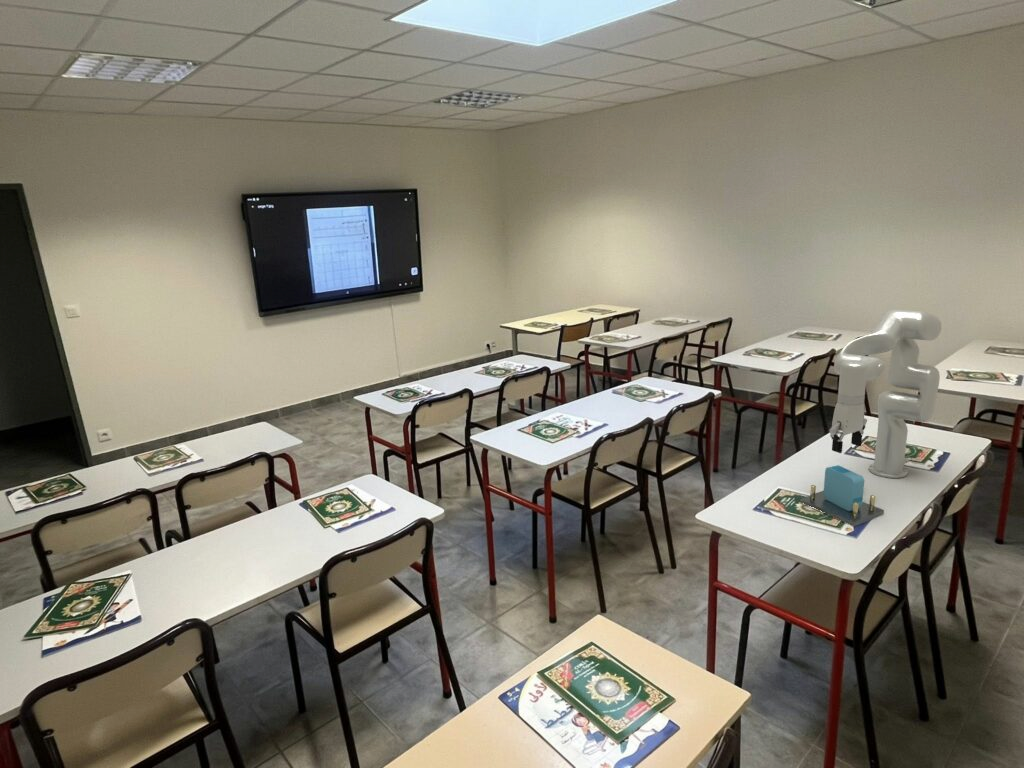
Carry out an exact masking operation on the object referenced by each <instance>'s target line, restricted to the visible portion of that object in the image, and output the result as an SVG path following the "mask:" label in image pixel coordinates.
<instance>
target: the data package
mask: <svg viewBox="0 0 1024 768" xmlns="http://www.w3.org/2000/svg"><path fill="white" fill-rule="evenodd" d="M864 489H865V478H864V477H863V475H860V474H859V473H856V472H855V471H852V470H850V469H847V468H845V467H843V466H841V465H833V466H829V467H826V468H825V471H824V483H823V490H824V492H823V495H824V498H825V499H826V500H828V501H830V502H831V503H833V504H835V505H837V506H839V507H841V508H843V509H845V510H847V511H853V502H858V503H859V506H858V509H860V508H861V507H862V502H863V497H864Z"/></svg>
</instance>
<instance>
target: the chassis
mask: <svg viewBox="0 0 1024 768" xmlns="http://www.w3.org/2000/svg"><path fill="white" fill-rule="evenodd" d="M816 489H817V486H816V485H815V484H811V485H810V493H809V494H810V495H808V496H804V497H802V498H800V499H799V503H800V502H802V503H804V504H806V505H809V506H811V507H814V508H816V509H818V510H821V511H822V512H825V513H827V514H829V515H831V516H833V517H835V518H834V519H836V518H837V519H836V520H838V519H839V520H838V521H840V520H841V521H840V522H842V521H843V523H845V522H846V523H845V524H847V523H848V524H847V525H849V524H850V526H851V527H854V526H855V527H857V526H859V525H861V524H864V523H866V522H869V521H871V520H873V519H876V518H879V517H881V516H882V515H884V514H885V510H884V509H882V508H881V507H878V506H875V505H876V496H875V495H873V494H872V495H871V494H870V495H869V501H868V502H869V503H867V502H865V501H862V507H861V508H860V509H858V506H859V503H858V502H853V511H847V510H845V509H843V508H841V507H839V506H837V505H835V504H833V503H831V502H830V501H828V500H826V499H825V498H824V495H823V492H824V489H822V490H821V491H819V492H816ZM806 505H805V506H806ZM822 512H821V513H822ZM829 515H828V516H829ZM831 516H830V517H831ZM833 517H832V518H833Z"/></svg>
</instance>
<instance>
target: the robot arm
mask: <svg viewBox="0 0 1024 768" xmlns="http://www.w3.org/2000/svg"><path fill="white" fill-rule="evenodd" d="M941 331H942V322H941V319H939V317H938V316H936V315H933V314H931V313H929V312H926V311H923V310H911V309H890V310H887V311H886V312H884V313H883V314H881V317H880V318H879V320H878V321H877V323H876V324H875V325H874V327H873V328H872V330H871V331H870V333H868V334H866V335H865V334H864V335H862V336H860V337H858V338H855V339H853V340H852V341H849V342H848V343H846V344H845V345H844V346H843V348H842V349H841V350H840V351H839V353H838V354H837V356H836V358H835V360H834V364H833V369H834V372H835V373H836V374H837V375H839V380H838V392H837V403H836V404H835V408H834V409H833V411H834V412H833V417H832V422H831V428H830V429H829V435H830V438H831V440H832V445H831V451H832V452H835V453H838V454H841V453H843V444H844V443H843V442H844V441H843V439H844V437H845V436H847V435H850V434H851V441H850V444H852V445H853V446H857V447H861V446H862V442H863V441H862V440H863V435H864V430H865V429H866V424H867V422H868V419H867V418H865V398H866V396H865V395H866V388H867V387H866V386H867V382H871V381H875V380H878V379H879V378H881V377H882V375H884V373H885V367H886V366H885V363H884V360H882V359H881V358H879V357H875V356H874V355H879V354H884V353H887V352H890V351H891V352H890V357H889V365H888V370H887V375H886V381H887V383H888V385H890V386H891V387H894V388H899V389H905V390H909V391H916V392H917V391H918V392H919V394H917V393H916V394H915V393H910V392H904V391H897V390H886V391H883V392H881V393H880V394H879V396H878V398H877V413H878V414H877V415H878V420H877V433H876V439H875V440H876V441H875V450H874V452H875V453H874V461H873V462H872V463H871V464H869V465H868V470H869V472H870V473H872V474H873V475H877V476H879V477H882V478H889V479H900V478H905V477H907V476H908V473H909V472H908V469H907V468H905V464H907V463H909V462H910V459H909V458H908V457H906V456H905V455H906V447H907V440H908V439H907V438H908V431H909V430H908V425H907V424H906V422H905V420H907V421H912V422H918V423H919V422H920V423H927V422H929V421H930V420H931V419H932V418H933V415H934V411H935V407H936V402H937V397H938V391H939V386H940V377H941V376H940V371H939V370H938V368H937V367H935V366H933V365H929V364H922V363H920V364H919V363H918V360H919V357H920V347H919V345H918V343H917V341H918V340H920V341H926V342H927V341H929V342H930V341H934V340H936V339H937V338H939V336H940V334H941ZM916 340H917V341H916ZM871 355H872V356H871Z"/></svg>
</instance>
